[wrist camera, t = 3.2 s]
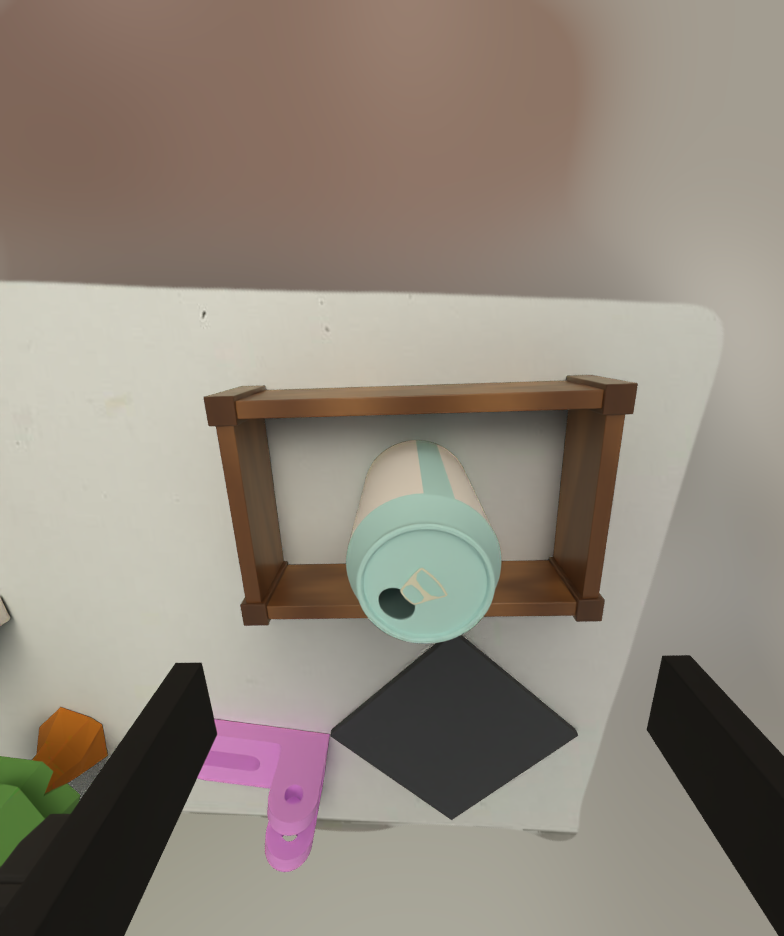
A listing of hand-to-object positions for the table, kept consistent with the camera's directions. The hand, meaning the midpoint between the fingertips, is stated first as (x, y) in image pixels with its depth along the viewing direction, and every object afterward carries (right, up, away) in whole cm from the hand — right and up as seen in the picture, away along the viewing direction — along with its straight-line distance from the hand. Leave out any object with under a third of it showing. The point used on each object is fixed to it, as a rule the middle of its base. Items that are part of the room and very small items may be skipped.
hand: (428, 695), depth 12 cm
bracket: (-13, -19, +24) cm, 33 cm away
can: (+1, +5, +16) cm, 17 cm away
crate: (+1, +5, +16) cm, 17 cm away
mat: (+4, -16, +23) cm, 28 cm away
